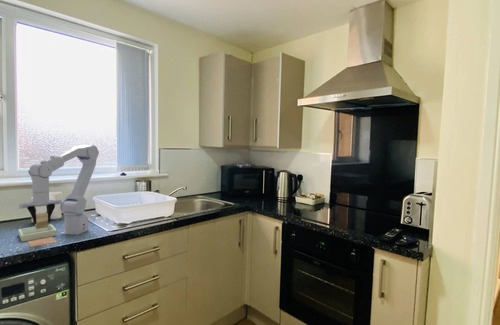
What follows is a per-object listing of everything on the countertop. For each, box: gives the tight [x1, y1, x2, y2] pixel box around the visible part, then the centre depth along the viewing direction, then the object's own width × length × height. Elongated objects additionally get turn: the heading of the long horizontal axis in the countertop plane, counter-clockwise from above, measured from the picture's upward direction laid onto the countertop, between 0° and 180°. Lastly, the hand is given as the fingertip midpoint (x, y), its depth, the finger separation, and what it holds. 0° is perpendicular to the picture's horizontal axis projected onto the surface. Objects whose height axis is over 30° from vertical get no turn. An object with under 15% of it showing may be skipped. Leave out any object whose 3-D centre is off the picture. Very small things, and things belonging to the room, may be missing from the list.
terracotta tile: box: [27, 236, 57, 248], centre depth 120 cm, size 9×9×1 cm
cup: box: [30, 196, 50, 223], centre depth 150 cm, size 8×8×14 cm
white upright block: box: [49, 191, 64, 220], centre depth 159 cm, size 7×7×15 cm
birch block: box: [34, 212, 49, 229], centre depth 119 cm, size 4×4×6 cm
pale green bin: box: [18, 223, 58, 242], centre depth 128 cm, size 13×13×3 cm
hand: (41, 222), depth 119 cm, fingers closed on birch block, 4 cm apart
